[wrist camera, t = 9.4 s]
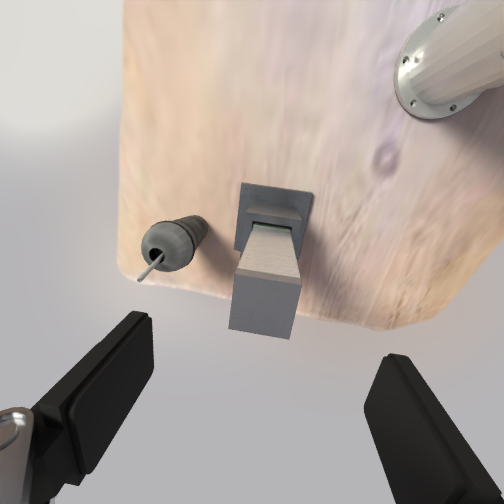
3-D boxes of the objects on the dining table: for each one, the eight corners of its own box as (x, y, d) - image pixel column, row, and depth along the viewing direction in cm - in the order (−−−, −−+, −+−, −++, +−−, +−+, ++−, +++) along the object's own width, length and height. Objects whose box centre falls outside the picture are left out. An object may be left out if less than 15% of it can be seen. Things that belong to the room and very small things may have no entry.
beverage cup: (212, 206, 42) (161, 236, 23) (217, 244, 45) (174, 299, 26) (174, 208, 43) (95, 239, 24) (181, 246, 45) (114, 300, 27)
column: (287, 219, 34) (302, 284, 15) (282, 248, 36) (289, 340, 17) (257, 214, 34) (234, 273, 15) (253, 243, 36) (227, 329, 17)
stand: (311, 192, 40) (327, 202, 28) (297, 257, 44) (305, 291, 32) (242, 182, 40) (227, 188, 28) (235, 247, 44) (219, 276, 32)
